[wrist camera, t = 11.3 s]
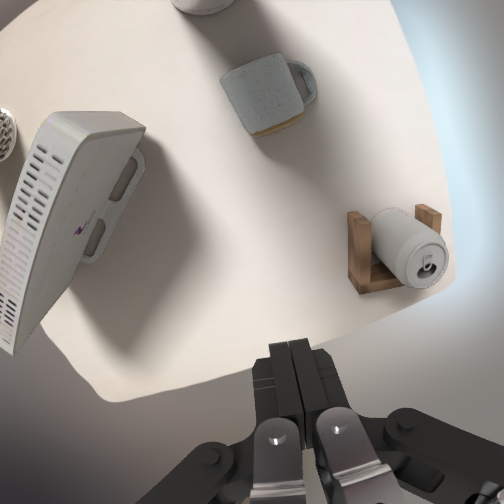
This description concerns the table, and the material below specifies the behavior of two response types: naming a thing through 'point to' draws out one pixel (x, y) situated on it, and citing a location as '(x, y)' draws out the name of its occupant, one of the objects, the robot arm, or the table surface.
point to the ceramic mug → (267, 93)
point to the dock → (360, 251)
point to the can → (409, 248)
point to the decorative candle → (7, 133)
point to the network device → (61, 211)
